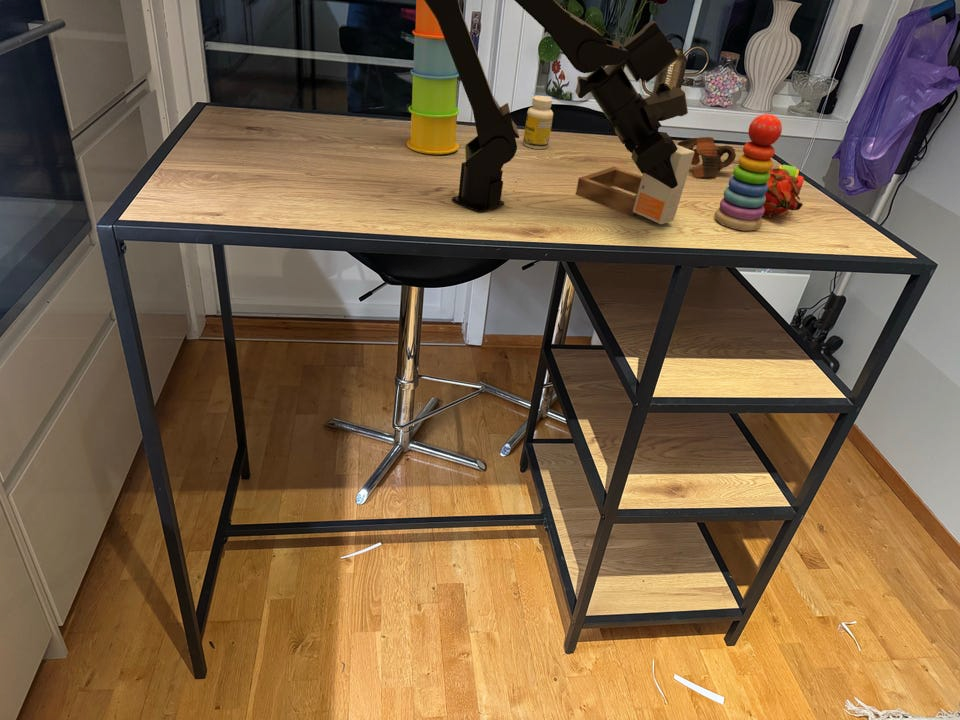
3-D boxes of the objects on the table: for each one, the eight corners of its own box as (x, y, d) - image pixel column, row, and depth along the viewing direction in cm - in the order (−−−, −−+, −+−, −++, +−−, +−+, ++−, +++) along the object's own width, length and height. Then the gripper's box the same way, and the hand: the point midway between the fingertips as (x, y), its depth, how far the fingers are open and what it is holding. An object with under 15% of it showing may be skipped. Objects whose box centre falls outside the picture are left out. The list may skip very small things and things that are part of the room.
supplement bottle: (519, 141, 151) (525, 94, 146) (542, 142, 153) (549, 95, 148) (527, 149, 147) (535, 101, 142) (551, 150, 149) (559, 102, 143)
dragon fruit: (761, 206, 137) (773, 240, 129) (734, 178, 134) (745, 211, 125) (801, 178, 133) (816, 211, 124) (774, 148, 129) (788, 180, 121)
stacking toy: (724, 211, 129) (757, 105, 119) (766, 225, 125) (804, 117, 115) (706, 221, 124) (739, 111, 113) (749, 236, 120) (788, 124, 110)
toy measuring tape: (759, 204, 135) (771, 170, 131) (765, 177, 150) (776, 146, 147) (794, 212, 133) (807, 178, 129) (796, 184, 148) (808, 153, 145)
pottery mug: (679, 179, 144) (676, 138, 143) (673, 186, 153) (670, 147, 152) (741, 172, 142) (738, 130, 141) (731, 179, 151) (728, 140, 150)
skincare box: (631, 212, 120) (649, 142, 114) (645, 209, 123) (664, 140, 117) (661, 225, 117) (681, 153, 111) (674, 221, 120) (695, 151, 114)
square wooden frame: (575, 194, 128) (578, 178, 126) (631, 174, 141) (635, 159, 139) (632, 216, 122) (636, 199, 120) (685, 193, 135) (689, 178, 133)
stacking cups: (424, 158, 135) (439, -51, 116) (397, 142, 141) (406, -58, 122) (468, 153, 140) (489, -47, 121) (439, 137, 147) (455, -54, 128)
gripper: (681, 81, 99) (731, 167, 106) (651, 56, 115) (697, 132, 122) (613, 131, 103) (666, 211, 110) (593, 100, 119) (641, 171, 126)
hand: (669, 179), depth 117 cm, fingers closed on skincare box, 7 cm apart
